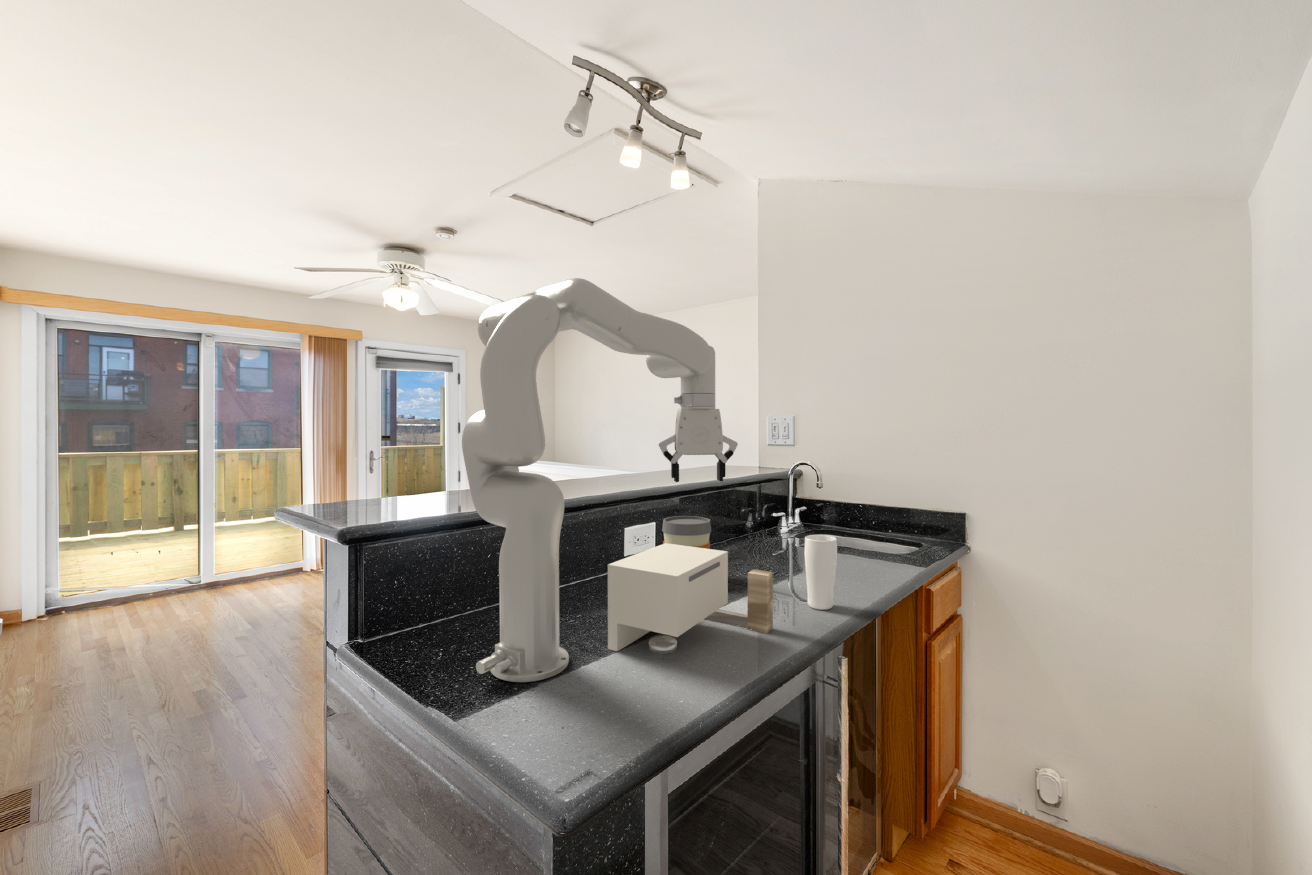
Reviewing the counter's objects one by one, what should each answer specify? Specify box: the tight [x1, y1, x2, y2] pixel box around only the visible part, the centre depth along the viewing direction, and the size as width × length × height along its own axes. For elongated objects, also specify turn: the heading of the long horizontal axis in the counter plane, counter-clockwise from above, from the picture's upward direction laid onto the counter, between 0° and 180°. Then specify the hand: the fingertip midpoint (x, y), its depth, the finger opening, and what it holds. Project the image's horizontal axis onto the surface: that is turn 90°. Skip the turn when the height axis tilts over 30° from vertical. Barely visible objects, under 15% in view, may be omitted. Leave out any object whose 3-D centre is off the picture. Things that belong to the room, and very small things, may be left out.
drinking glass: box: [804, 534, 838, 611], centre depth 119 cm, size 7×7×15 cm
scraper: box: [704, 568, 774, 634], centre depth 110 cm, size 3×18×11 cm, turn 58°
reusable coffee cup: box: [661, 515, 712, 549], centre depth 141 cm, size 13×12×15 cm
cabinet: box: [607, 543, 729, 652], centre depth 102 cm, size 20×14×15 cm
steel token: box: [648, 635, 678, 655], centre depth 98 cm, size 5×5×2 cm
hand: (698, 481), depth 120 cm, fingers open, 9 cm apart
